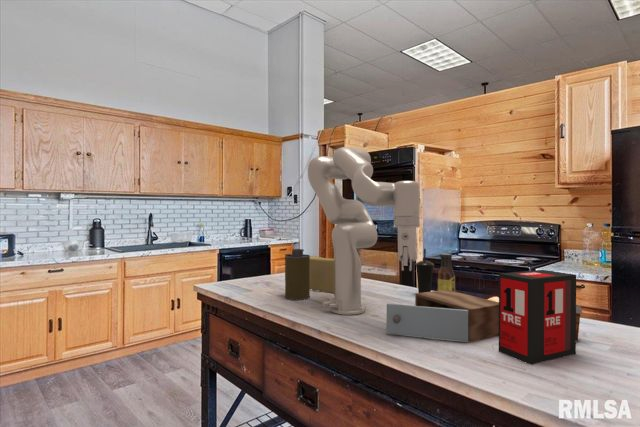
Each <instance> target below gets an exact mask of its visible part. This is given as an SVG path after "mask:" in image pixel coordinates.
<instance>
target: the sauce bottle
mask: <svg viewBox="0 0 640 427" xmlns="http://www.w3.org/2000/svg"><path fill="white" fill-rule="evenodd" d="M452 256H453V254H452V253H440V256H439V257H440V268H438V271H437V291H440V290H450V291H454V292H456V274H455V272H454V269H453V266H452V264H453V263H452V258H453V257H452Z"/></svg>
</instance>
